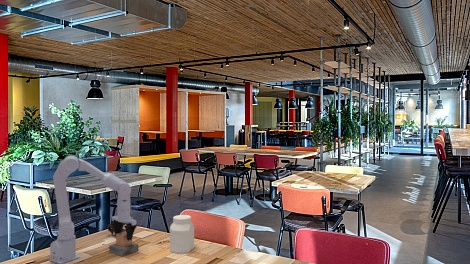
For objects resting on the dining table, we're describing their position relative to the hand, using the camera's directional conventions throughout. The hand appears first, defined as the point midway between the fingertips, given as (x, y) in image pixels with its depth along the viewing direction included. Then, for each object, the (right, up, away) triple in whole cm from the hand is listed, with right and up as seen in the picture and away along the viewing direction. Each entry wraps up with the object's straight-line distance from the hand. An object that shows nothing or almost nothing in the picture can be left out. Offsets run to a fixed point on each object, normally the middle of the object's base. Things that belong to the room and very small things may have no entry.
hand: (124, 238), depth 167 cm
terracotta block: (0, -3, 0) cm, 3 cm away
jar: (+26, -6, +3) cm, 27 cm away
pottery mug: (-10, -6, +24) cm, 27 cm away
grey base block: (0, -6, 0) cm, 6 cm away
